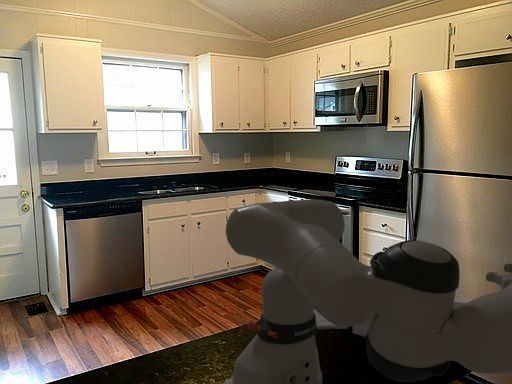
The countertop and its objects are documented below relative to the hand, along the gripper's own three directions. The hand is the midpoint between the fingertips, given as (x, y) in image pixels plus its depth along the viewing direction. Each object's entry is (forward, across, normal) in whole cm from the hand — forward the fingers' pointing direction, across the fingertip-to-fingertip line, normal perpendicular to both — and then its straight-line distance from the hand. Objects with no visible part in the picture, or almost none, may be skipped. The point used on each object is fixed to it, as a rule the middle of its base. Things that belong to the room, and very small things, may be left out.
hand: (496, 271), depth 98 cm
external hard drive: (+41, -11, -20) cm, 47 cm away
